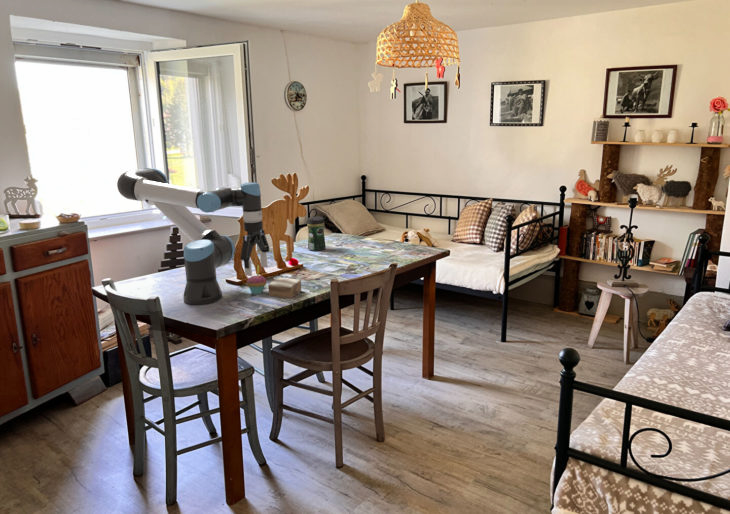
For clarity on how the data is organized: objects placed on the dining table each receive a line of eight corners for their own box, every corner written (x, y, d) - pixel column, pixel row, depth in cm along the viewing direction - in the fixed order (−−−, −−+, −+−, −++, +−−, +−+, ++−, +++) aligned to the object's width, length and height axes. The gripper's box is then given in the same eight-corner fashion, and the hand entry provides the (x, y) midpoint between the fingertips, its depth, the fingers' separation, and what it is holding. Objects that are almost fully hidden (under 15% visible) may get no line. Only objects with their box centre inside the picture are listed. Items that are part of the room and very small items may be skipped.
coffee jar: (318, 246, 311) (317, 214, 306) (327, 249, 305) (326, 216, 301) (305, 249, 304) (304, 217, 300) (314, 252, 299) (313, 218, 294)
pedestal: (291, 297, 221) (290, 286, 220) (269, 295, 224) (268, 284, 223) (301, 290, 231) (300, 279, 229) (279, 288, 234) (279, 277, 232)
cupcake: (254, 288, 235) (252, 261, 232) (271, 290, 232) (269, 263, 229) (242, 294, 227) (241, 266, 224) (260, 296, 224) (258, 268, 221)
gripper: (245, 226, 209) (249, 279, 214) (275, 216, 232) (278, 264, 237) (228, 226, 211) (233, 278, 216) (259, 215, 234) (262, 263, 239)
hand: (256, 271), depth 227 cm, fingers open, 13 cm apart
